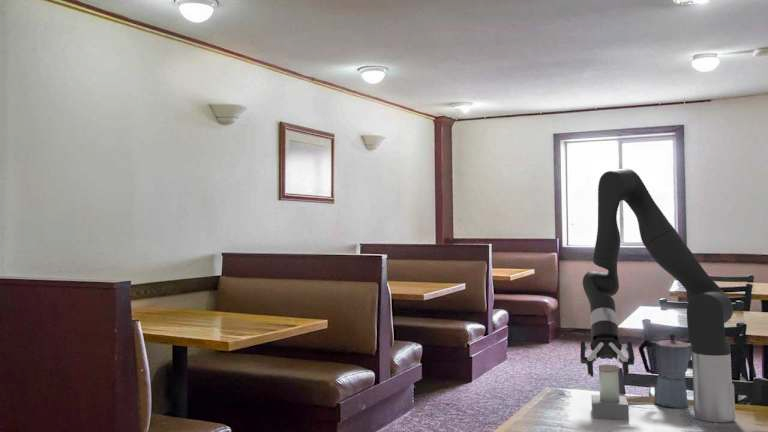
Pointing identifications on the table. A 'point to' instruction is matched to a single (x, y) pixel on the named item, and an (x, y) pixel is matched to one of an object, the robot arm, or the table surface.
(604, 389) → the canister
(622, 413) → the stand
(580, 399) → the table surface
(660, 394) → the moka pot
